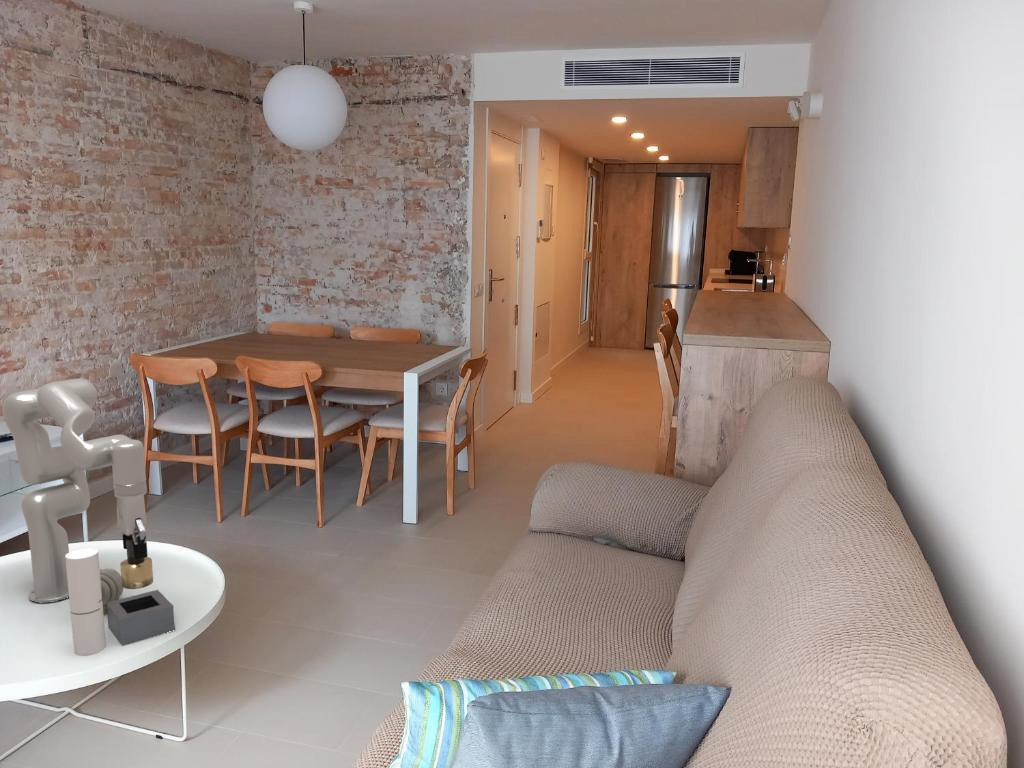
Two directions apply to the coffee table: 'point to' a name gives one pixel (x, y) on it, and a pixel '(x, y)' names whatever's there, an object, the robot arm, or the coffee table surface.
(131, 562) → the stepped cylindrical shaft
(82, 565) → the cylindrical container
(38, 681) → the coffee table surface
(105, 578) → the toy sheep
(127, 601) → the block
